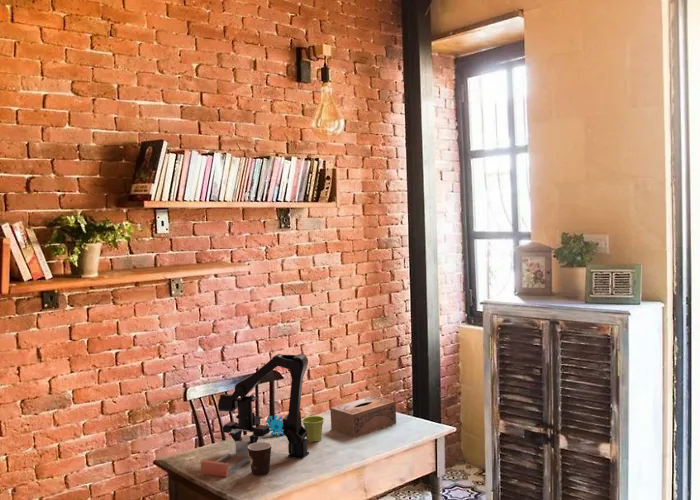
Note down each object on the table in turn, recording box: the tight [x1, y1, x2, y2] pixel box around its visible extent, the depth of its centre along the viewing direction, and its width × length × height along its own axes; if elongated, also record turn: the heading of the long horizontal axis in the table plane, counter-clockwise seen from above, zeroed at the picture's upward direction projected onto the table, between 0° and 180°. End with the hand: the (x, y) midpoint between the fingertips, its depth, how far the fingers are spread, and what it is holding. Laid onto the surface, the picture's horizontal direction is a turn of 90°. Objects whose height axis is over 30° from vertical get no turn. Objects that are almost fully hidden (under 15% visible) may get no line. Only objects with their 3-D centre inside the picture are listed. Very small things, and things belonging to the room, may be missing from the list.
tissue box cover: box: [330, 395, 397, 438], centre depth 290 cm, size 26×14×10 cm, turn 132°
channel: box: [200, 453, 250, 478], centre depth 249 cm, size 11×18×4 cm, turn 157°
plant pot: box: [301, 415, 325, 443], centre depth 275 cm, size 9×9×9 cm
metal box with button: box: [235, 434, 251, 458], centre depth 262 cm, size 6×8×6 cm
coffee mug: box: [248, 441, 272, 477], centre depth 240 cm, size 12×9×10 cm
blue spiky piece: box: [265, 414, 285, 437], centre depth 285 cm, size 11×6×10 cm
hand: (246, 450), depth 262 cm, fingers open, 5 cm apart
